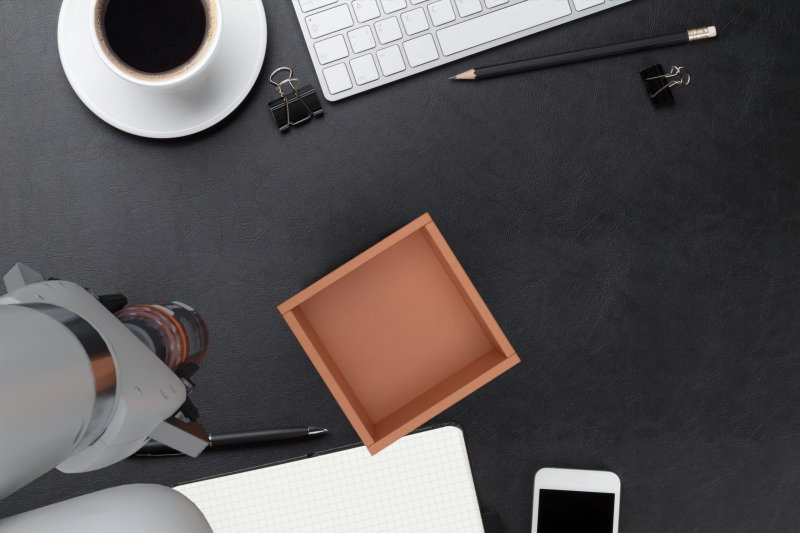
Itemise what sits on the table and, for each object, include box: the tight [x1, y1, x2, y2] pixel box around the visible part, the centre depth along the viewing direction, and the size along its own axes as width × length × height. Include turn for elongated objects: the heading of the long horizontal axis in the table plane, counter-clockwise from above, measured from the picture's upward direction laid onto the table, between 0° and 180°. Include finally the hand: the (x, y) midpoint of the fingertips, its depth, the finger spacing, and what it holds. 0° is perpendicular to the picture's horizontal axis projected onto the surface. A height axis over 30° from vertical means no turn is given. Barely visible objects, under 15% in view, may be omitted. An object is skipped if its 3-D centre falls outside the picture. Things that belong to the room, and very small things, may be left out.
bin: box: [276, 211, 522, 457], centre depth 56 cm, size 12×12×7 cm
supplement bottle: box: [113, 300, 210, 373], centre depth 53 cm, size 6×6×11 cm
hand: (145, 347), depth 52 cm, fingers closed on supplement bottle, 6 cm apart
